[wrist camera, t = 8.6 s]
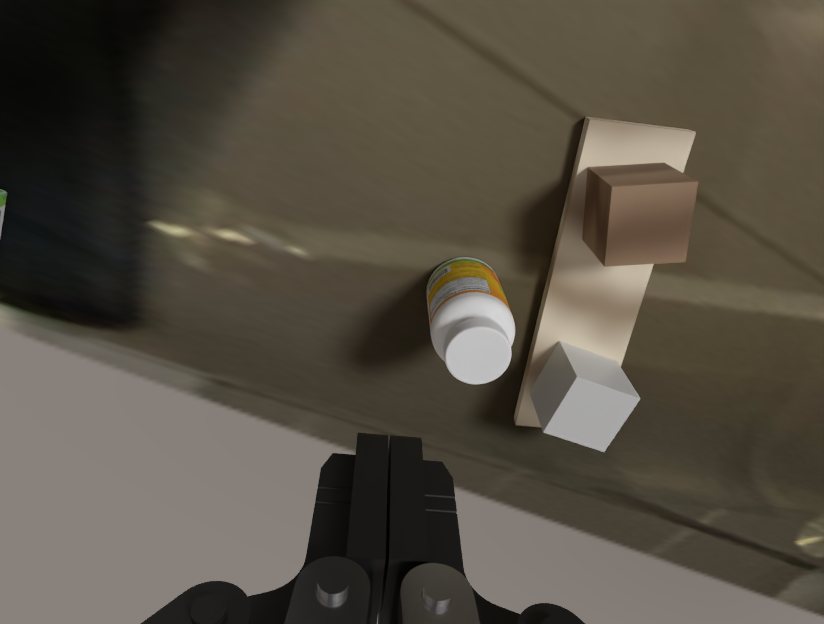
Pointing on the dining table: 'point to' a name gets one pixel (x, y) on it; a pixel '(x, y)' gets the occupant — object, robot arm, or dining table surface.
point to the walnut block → (638, 213)
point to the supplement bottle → (470, 320)
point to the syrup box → (2, 207)
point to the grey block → (582, 397)
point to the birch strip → (581, 270)
